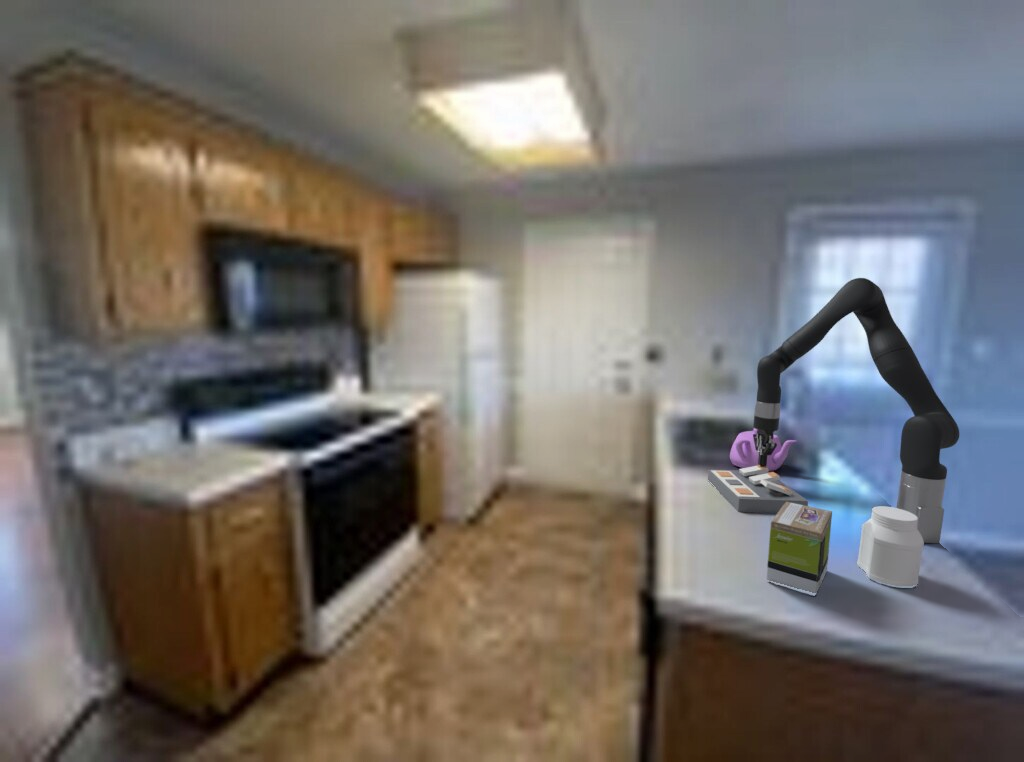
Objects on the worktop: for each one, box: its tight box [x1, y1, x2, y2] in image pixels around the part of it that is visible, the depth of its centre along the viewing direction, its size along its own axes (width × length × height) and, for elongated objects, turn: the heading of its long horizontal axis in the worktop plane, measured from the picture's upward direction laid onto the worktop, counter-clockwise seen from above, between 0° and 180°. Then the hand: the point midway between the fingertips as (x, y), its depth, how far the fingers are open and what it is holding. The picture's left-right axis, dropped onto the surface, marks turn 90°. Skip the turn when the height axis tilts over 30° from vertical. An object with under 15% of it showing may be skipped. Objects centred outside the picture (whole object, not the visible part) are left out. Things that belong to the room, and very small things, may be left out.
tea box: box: [766, 502, 833, 594], centre depth 114 cm, size 15×10×15 cm, turn 141°
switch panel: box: [707, 469, 809, 514], centre depth 164 cm, size 27×20×5 cm
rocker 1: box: [738, 465, 770, 476], centre depth 171 cm, size 4×8×1 cm, turn 87°
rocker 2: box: [749, 471, 781, 485], centre depth 163 cm, size 4×8×1 cm, turn 87°
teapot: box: [729, 427, 797, 472], centre depth 189 cm, size 23×21×15 cm
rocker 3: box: [760, 479, 792, 496], centre depth 155 cm, size 4×8×1 cm, turn 87°
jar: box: [856, 505, 925, 586], centre depth 115 cm, size 12×10×15 cm
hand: (762, 465), depth 171 cm, fingers closed
